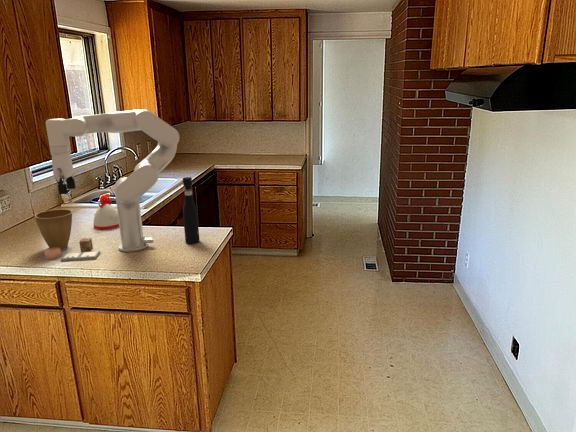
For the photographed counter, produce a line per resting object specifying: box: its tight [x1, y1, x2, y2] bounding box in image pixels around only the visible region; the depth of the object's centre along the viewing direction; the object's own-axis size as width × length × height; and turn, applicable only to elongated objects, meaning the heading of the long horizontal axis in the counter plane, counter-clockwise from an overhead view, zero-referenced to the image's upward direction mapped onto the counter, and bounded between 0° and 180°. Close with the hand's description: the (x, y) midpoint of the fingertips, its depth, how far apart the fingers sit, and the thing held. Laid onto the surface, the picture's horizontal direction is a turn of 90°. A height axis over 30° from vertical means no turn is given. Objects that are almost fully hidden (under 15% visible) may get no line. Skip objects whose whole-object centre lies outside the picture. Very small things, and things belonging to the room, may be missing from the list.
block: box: [79, 237, 94, 252], centre depth 200 cm, size 4×4×5 cm
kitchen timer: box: [92, 196, 119, 231], centre depth 235 cm, size 14×14×15 cm
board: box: [60, 250, 101, 262], centre depth 193 cm, size 14×7×1 cm, turn 98°
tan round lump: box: [44, 247, 62, 261], centre depth 194 cm, size 6×6×4 cm
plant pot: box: [34, 208, 73, 250], centre depth 204 cm, size 15×15×16 cm
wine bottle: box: [182, 176, 200, 245], centre depth 204 cm, size 6×6×30 cm
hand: (67, 191), depth 188 cm, fingers open, 9 cm apart
